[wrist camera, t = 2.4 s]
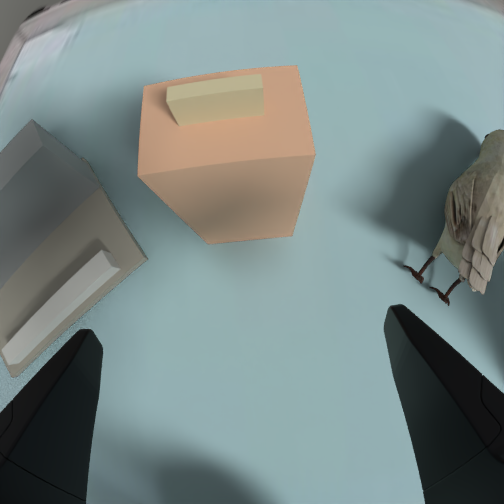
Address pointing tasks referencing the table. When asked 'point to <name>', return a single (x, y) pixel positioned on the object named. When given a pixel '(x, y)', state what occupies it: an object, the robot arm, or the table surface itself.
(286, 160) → the tan tall block
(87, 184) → the wall board
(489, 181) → the decorative bird
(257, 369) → the table surface
